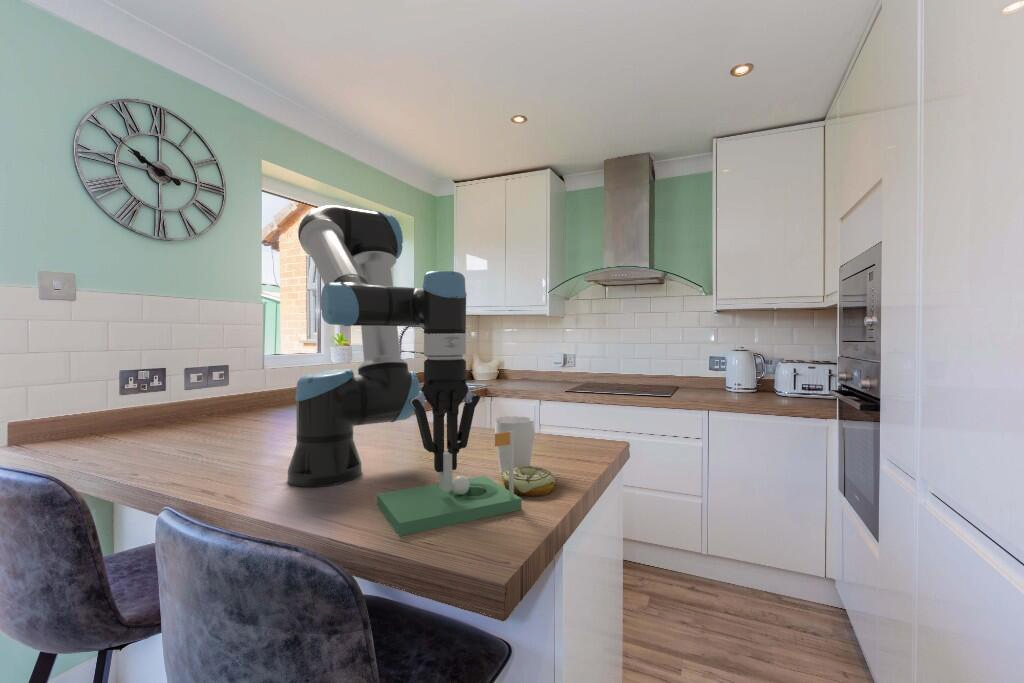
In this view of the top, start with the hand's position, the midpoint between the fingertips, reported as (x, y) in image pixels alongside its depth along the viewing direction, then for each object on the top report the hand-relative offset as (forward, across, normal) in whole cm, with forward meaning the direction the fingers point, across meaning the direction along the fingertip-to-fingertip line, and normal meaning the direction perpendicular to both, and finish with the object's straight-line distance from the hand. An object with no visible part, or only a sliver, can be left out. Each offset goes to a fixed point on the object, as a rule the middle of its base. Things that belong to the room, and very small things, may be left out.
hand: (445, 488), depth 82 cm
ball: (0, +3, 0) cm, 3 cm away
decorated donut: (+4, +18, +2) cm, 19 cm away
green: (+4, +1, 0) cm, 4 cm away
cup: (+4, +21, +13) cm, 25 cm away
